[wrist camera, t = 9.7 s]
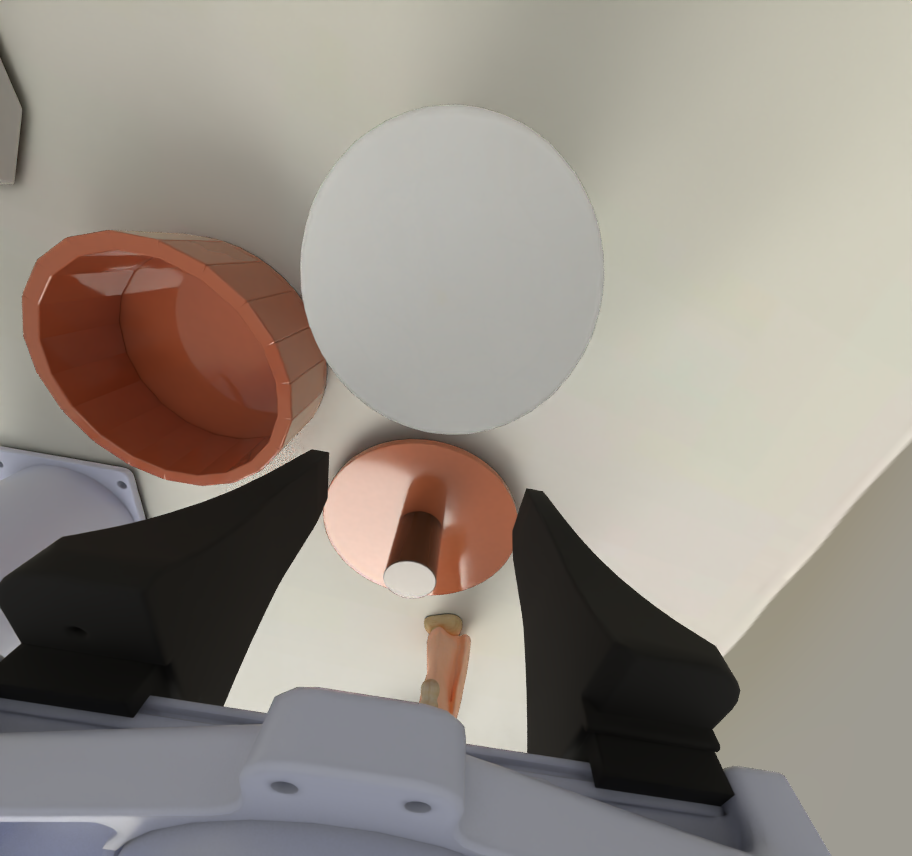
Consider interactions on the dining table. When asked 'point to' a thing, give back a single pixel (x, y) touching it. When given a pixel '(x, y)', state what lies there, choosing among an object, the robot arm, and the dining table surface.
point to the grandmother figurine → (445, 663)
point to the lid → (420, 517)
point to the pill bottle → (452, 269)
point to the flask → (8, 128)
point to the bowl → (173, 351)
